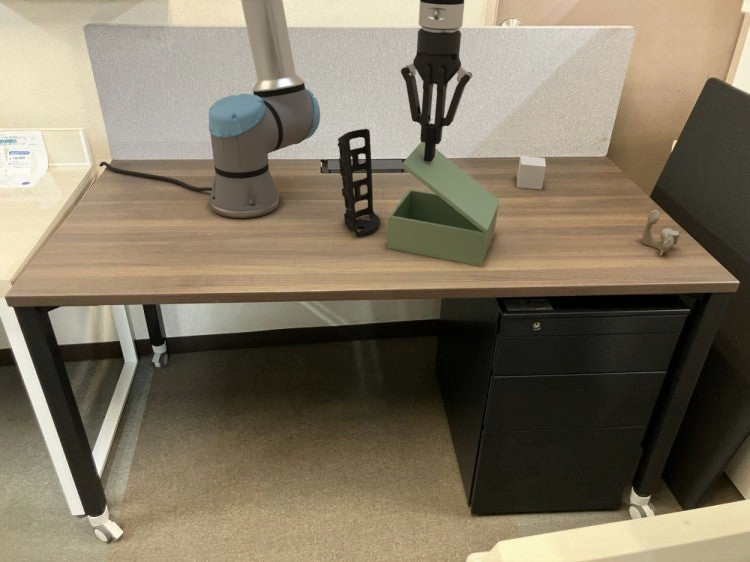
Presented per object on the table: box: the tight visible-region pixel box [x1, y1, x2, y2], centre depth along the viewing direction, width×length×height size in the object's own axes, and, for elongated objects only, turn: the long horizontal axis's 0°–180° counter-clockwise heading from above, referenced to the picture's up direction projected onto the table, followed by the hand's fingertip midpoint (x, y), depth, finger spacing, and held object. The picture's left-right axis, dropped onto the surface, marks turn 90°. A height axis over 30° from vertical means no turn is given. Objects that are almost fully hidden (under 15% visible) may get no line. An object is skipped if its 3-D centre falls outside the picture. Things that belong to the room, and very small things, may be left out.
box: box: [386, 189, 500, 267], centre depth 123 cm, size 19×14×7 cm
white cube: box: [516, 155, 547, 190], centre depth 150 cm, size 6×6×6 cm
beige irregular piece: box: [641, 209, 681, 257], centre depth 122 cm, size 9×6×10 cm
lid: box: [400, 141, 501, 233], centre depth 118 cm, size 20×14×1 cm
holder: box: [336, 128, 381, 238], centre depth 124 cm, size 11×8×20 cm
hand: (429, 158), depth 117 cm, fingers closed
